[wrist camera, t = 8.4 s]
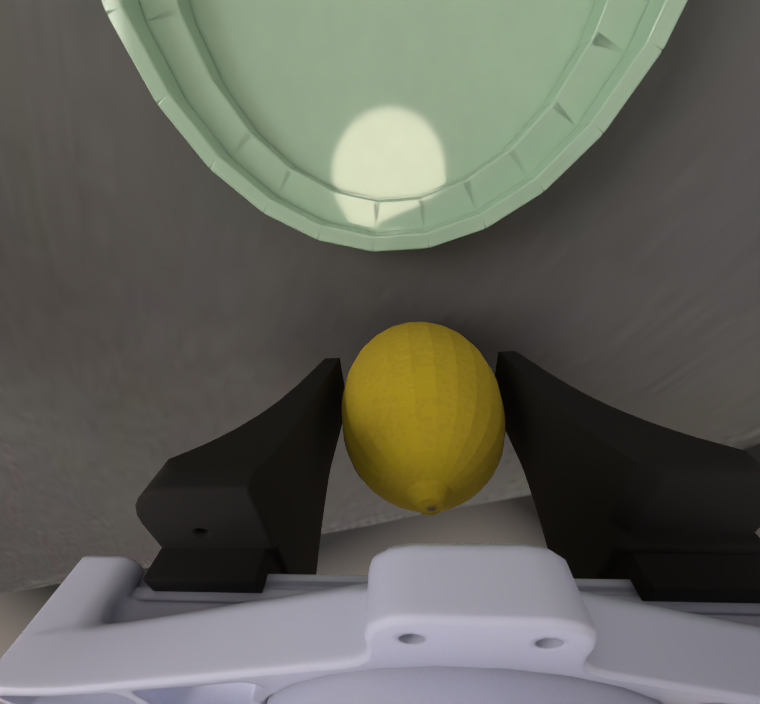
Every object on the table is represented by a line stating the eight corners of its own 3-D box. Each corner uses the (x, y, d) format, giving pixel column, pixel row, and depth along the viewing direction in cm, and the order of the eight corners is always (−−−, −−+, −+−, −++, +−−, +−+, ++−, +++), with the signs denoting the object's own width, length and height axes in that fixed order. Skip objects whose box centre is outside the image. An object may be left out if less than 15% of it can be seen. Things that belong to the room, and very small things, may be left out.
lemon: (425, 410, 16) (448, 583, 9) (335, 361, 15) (284, 522, 8) (498, 333, 14) (601, 494, 7) (397, 267, 12) (401, 384, 6)
